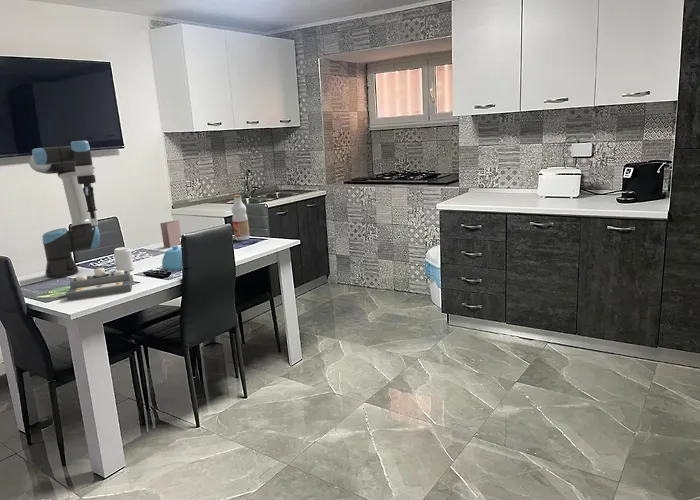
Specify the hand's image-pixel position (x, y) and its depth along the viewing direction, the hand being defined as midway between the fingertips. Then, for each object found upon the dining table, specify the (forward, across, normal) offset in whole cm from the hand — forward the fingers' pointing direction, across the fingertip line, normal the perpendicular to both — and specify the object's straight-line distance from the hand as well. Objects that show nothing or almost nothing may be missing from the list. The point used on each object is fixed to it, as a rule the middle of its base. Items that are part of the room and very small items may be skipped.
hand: (94, 224), depth 249 cm
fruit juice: (+29, +62, -74) cm, 101 cm away
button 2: (+24, -11, -8) cm, 28 cm away
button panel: (+28, -14, 0) cm, 32 cm away
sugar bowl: (+29, +10, -34) cm, 46 cm away
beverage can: (+29, +19, -8) cm, 35 cm away
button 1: (+24, -11, +8) cm, 28 cm away
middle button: (+22, -11, 0) cm, 25 cm away
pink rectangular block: (+29, +69, -33) cm, 82 cm away
